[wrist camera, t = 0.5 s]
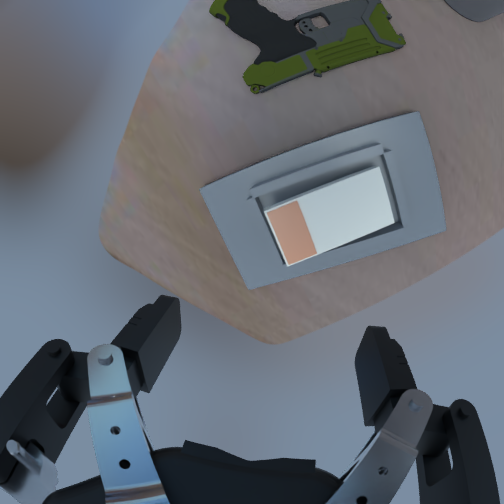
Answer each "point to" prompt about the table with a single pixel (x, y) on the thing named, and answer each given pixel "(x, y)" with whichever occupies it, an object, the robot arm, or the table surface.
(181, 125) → the table surface
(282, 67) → the gun
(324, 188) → the rocker
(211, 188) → the panel
